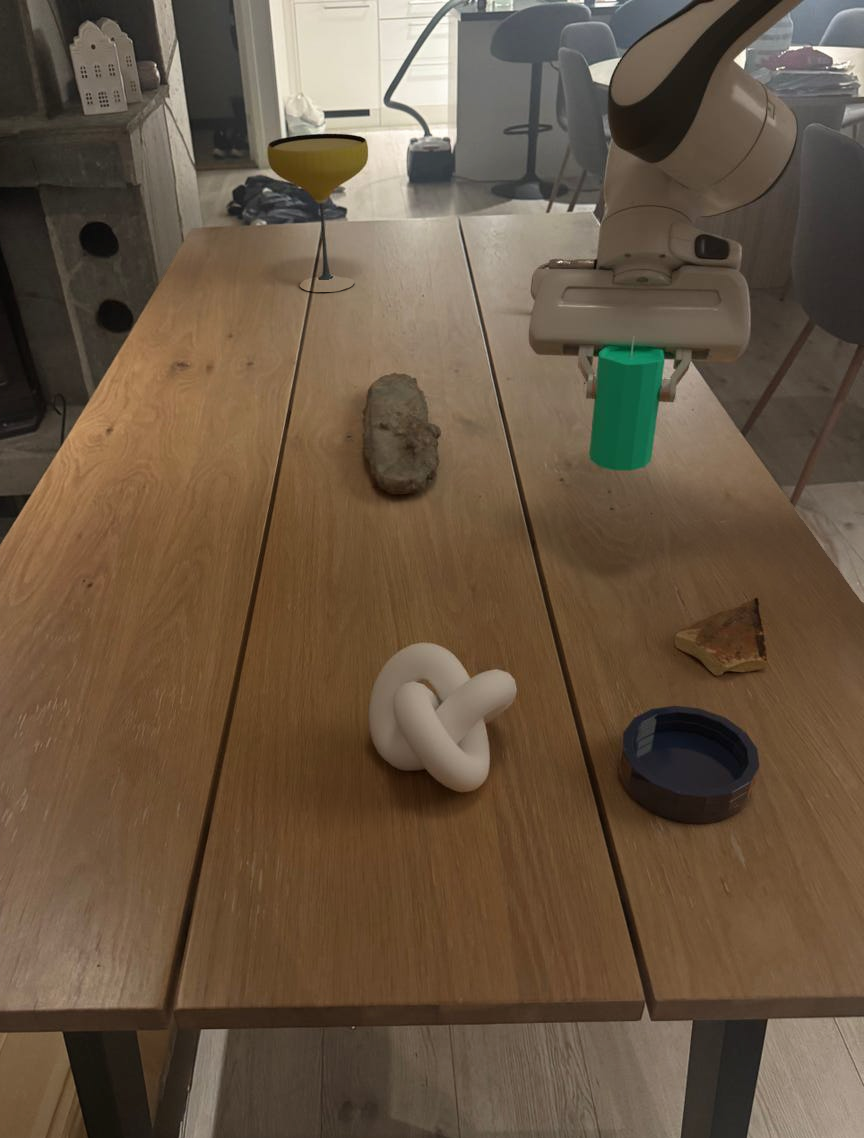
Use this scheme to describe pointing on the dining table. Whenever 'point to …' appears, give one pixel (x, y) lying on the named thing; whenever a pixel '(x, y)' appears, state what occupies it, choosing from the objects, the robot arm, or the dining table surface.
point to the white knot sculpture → (437, 715)
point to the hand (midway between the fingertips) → (630, 398)
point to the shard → (727, 640)
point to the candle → (626, 406)
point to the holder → (688, 764)
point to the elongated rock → (399, 435)
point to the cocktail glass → (318, 167)
